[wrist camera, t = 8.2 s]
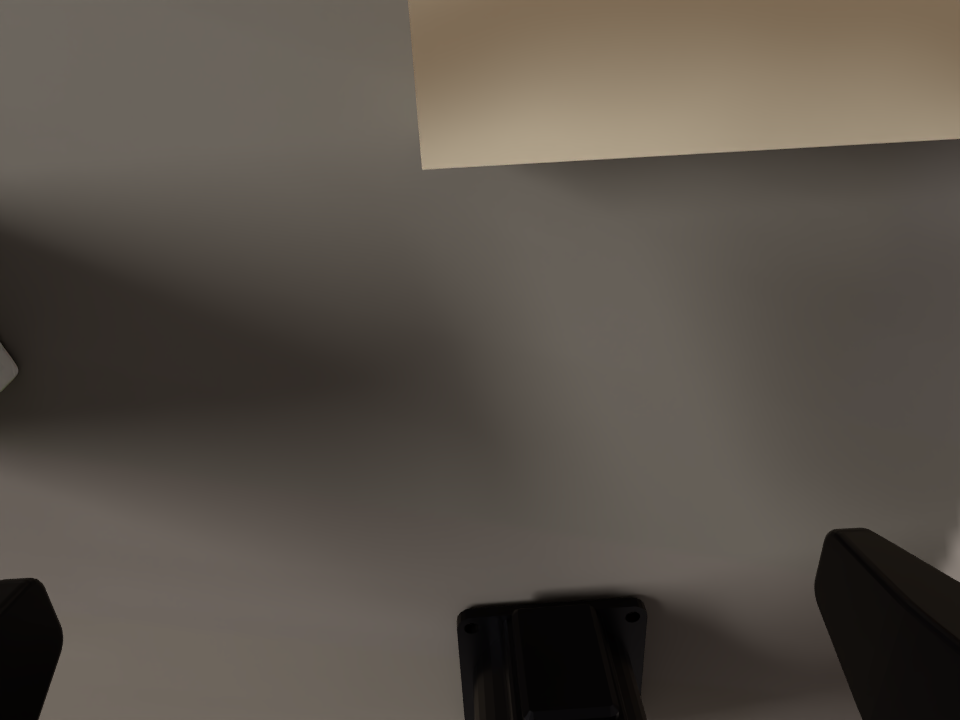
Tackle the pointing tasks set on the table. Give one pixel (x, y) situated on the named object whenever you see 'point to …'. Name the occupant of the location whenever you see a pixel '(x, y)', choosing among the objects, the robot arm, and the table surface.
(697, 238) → the table surface
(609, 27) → the frame with crossbar
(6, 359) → the syrup box
